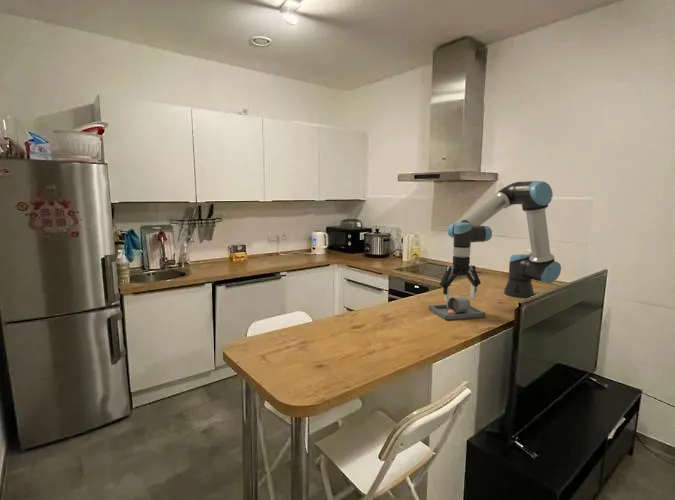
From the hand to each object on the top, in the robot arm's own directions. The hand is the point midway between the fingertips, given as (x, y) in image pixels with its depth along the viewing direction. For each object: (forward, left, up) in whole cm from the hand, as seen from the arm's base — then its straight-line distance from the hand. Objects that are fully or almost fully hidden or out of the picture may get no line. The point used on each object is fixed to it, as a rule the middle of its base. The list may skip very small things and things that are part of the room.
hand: (459, 300), depth 176 cm
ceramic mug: (+1, -1, -6) cm, 6 cm away
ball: (+8, +5, -5) cm, 11 cm away
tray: (+1, 0, -6) cm, 7 cm away
